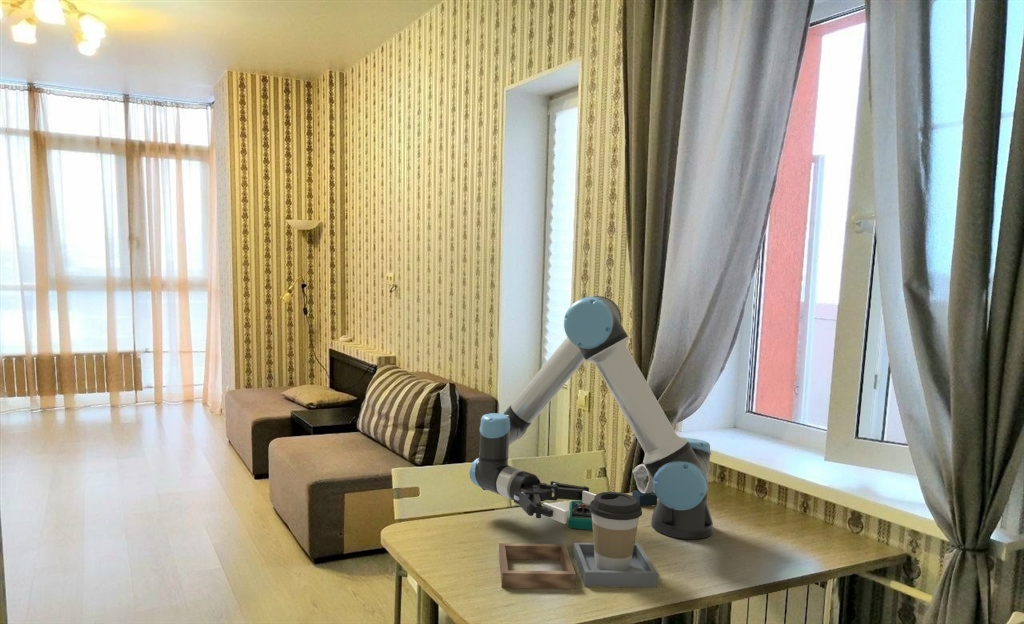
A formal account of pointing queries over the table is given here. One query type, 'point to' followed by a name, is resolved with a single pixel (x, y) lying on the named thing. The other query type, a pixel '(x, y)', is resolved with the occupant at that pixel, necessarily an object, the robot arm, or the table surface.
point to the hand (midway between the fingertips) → (586, 510)
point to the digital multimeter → (580, 515)
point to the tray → (636, 576)
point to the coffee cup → (614, 529)
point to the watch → (644, 494)
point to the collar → (536, 577)
